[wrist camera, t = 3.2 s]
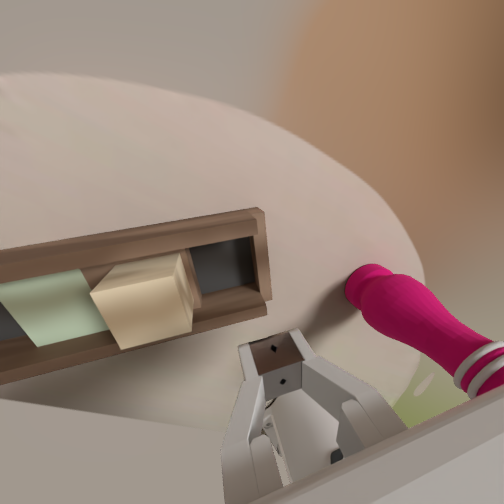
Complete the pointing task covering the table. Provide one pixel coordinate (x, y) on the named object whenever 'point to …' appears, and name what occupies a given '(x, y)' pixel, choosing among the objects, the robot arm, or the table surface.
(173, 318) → the maple block
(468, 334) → the pepper mill
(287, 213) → the table surface
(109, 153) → the table surface
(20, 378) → the tray
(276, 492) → the robot arm
